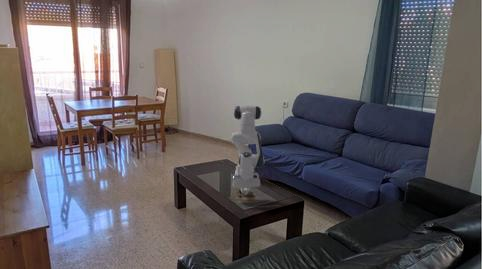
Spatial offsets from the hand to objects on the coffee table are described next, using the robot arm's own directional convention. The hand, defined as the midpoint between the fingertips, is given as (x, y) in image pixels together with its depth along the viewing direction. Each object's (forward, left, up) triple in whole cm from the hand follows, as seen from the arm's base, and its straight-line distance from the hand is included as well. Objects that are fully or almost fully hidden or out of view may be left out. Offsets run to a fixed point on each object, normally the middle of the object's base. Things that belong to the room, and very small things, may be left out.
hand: (246, 192), depth 246 cm
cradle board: (-3, 0, -5) cm, 6 cm away
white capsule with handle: (-5, 0, -4) cm, 6 cm away
